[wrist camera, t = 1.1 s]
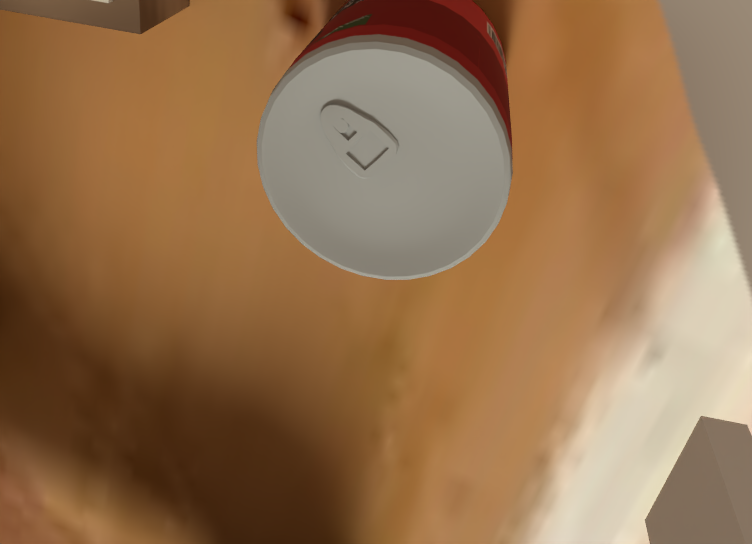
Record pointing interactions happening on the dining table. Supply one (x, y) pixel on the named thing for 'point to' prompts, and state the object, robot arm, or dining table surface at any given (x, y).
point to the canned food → (392, 138)
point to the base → (101, 11)
